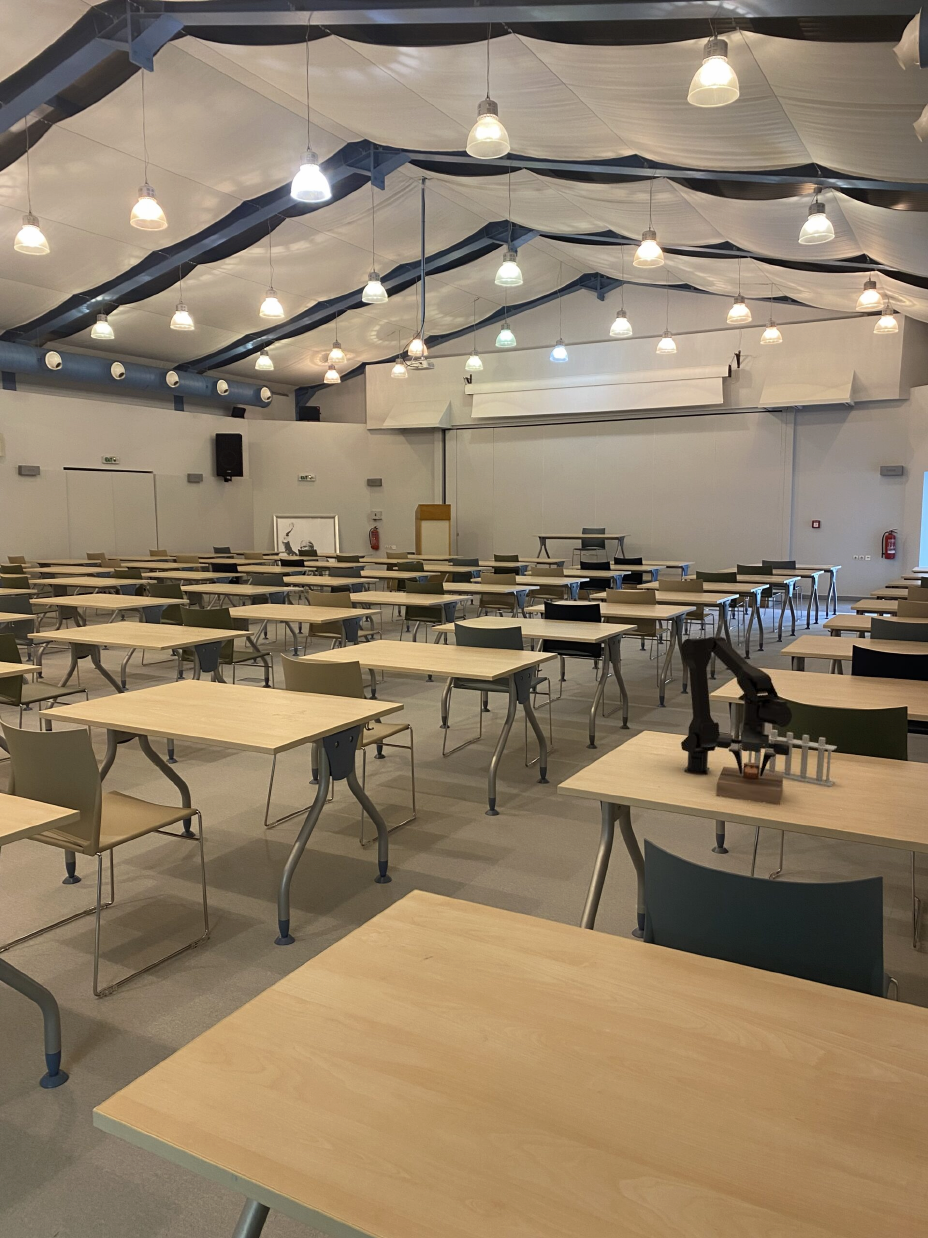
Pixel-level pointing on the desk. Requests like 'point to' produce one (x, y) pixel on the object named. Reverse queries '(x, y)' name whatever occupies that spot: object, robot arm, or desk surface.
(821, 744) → the test tube rack
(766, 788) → the press housing
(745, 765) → the plunger
